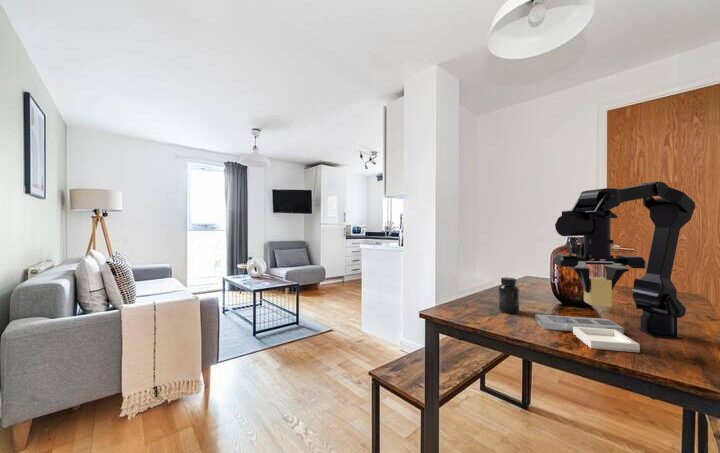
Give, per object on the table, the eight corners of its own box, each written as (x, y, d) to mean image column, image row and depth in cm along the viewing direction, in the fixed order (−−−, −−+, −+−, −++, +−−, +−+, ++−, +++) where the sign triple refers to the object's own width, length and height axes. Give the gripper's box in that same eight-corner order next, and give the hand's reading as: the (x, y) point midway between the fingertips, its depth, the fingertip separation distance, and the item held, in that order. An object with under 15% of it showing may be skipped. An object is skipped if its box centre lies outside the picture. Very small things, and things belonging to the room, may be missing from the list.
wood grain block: (603, 302, 80) (602, 277, 80) (611, 306, 76) (611, 280, 76) (583, 301, 81) (583, 276, 81) (591, 305, 77) (591, 279, 77)
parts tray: (615, 336, 81) (615, 329, 81) (639, 352, 71) (639, 344, 71) (573, 333, 83) (572, 326, 83) (590, 348, 73) (590, 340, 73)
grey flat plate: (607, 325, 89) (607, 318, 89) (623, 335, 82) (623, 327, 82) (535, 320, 95) (535, 314, 95) (543, 329, 87) (543, 322, 87)
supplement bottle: (522, 314, 101) (521, 280, 101) (501, 313, 102) (500, 280, 102) (515, 308, 108) (515, 276, 107) (496, 308, 109) (495, 276, 109)
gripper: (621, 234, 83) (622, 287, 83) (547, 234, 89) (548, 285, 89) (647, 235, 73) (647, 297, 73) (561, 236, 78) (561, 293, 78)
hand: (597, 292), depth 78 cm, fingers closed on wood grain block, 4 cm apart
